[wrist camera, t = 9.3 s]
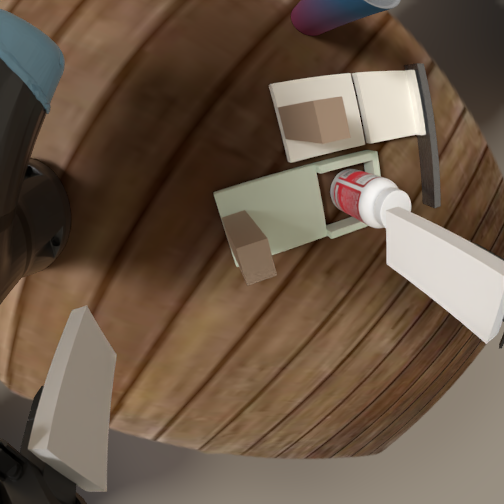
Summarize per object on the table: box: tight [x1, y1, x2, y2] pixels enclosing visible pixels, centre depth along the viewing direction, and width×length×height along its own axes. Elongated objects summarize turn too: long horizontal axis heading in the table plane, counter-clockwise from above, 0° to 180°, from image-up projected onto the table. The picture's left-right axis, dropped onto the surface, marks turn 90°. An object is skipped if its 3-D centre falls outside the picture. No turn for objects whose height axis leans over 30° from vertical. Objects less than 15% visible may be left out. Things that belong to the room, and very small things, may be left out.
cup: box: [291, 0, 401, 36], centre depth 23 cm, size 7×7×15 cm
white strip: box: [352, 70, 426, 143], centre depth 35 cm, size 10×10×2 cm
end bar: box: [404, 64, 441, 208], centre depth 38 cm, size 2×23×3 cm, turn 15°
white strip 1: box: [269, 73, 365, 163], centre depth 30 cm, size 11×10×11 cm
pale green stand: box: [213, 150, 381, 286], centre depth 34 cm, size 22×10×11 cm, turn 105°
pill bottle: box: [330, 169, 411, 228], centre depth 35 cm, size 6×6×11 cm
